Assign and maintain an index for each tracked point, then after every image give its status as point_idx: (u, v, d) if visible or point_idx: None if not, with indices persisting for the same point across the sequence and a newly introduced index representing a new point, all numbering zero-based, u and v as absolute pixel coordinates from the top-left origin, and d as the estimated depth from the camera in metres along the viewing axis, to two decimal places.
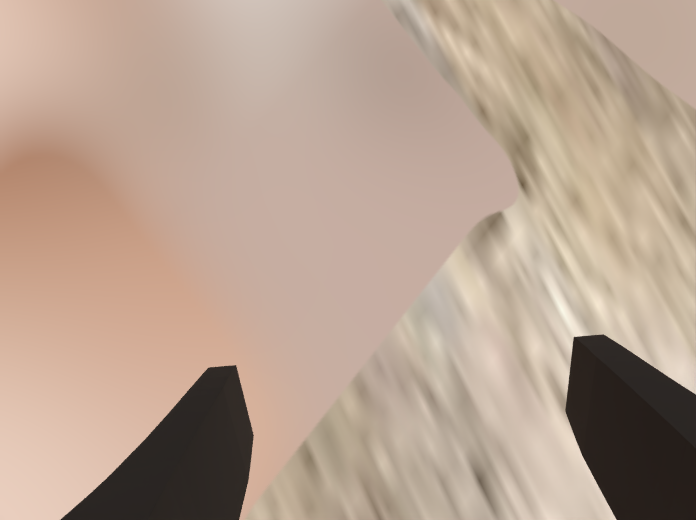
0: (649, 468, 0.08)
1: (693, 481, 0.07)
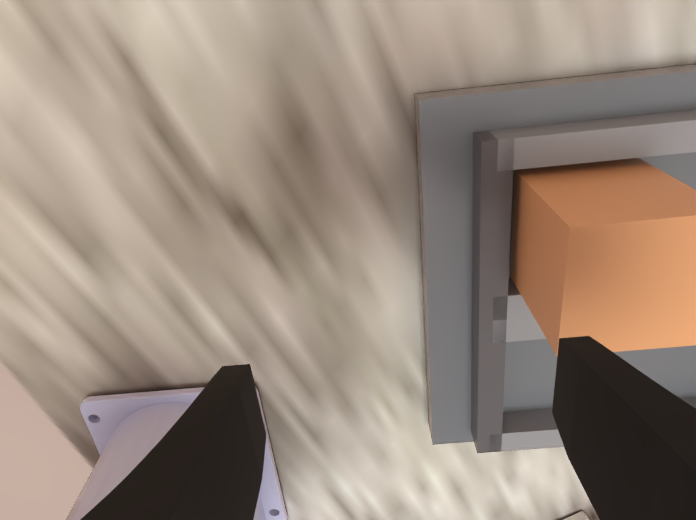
0: (631, 469, 0.08)
1: (671, 483, 0.07)
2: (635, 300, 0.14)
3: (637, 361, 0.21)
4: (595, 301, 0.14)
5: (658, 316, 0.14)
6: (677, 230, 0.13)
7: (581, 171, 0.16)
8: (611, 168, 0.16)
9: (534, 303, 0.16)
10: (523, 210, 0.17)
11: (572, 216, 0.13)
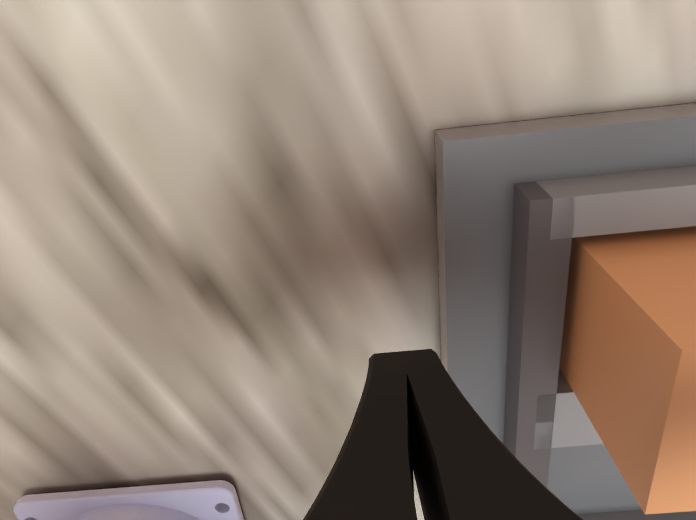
0: (430, 483, 0.08)
1: (440, 499, 0.07)
2: None
3: None
4: None
5: None
6: None
7: (664, 238, 0.12)
8: None
9: (601, 420, 0.12)
10: (584, 290, 0.12)
11: (678, 327, 0.09)
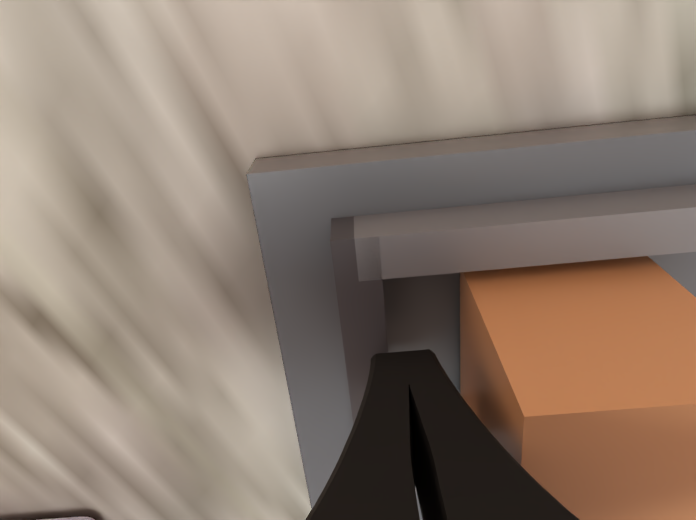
0: (428, 483, 0.08)
1: (438, 499, 0.07)
2: (637, 514, 0.08)
3: None
4: None
5: None
6: None
7: (555, 274, 0.11)
8: (600, 270, 0.11)
9: None
10: (470, 329, 0.11)
11: (530, 386, 0.08)
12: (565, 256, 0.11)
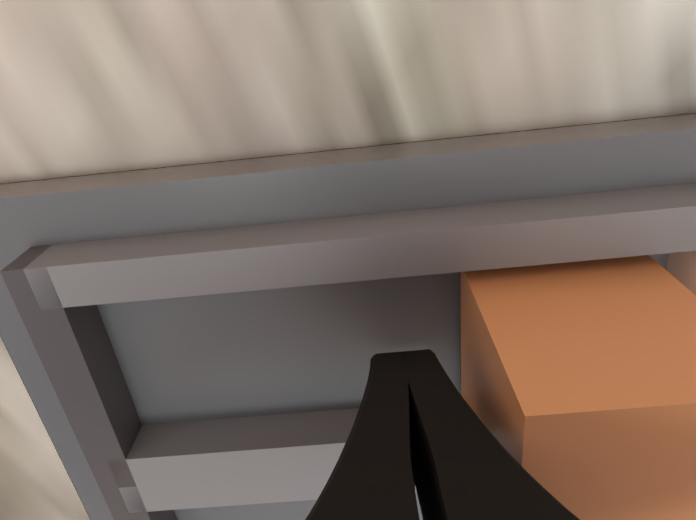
0: (428, 483, 0.08)
1: (438, 499, 0.07)
2: (637, 514, 0.08)
3: None
4: None
5: None
6: None
7: (556, 273, 0.11)
8: (600, 269, 0.11)
9: None
10: (470, 328, 0.11)
11: (532, 385, 0.08)
12: (233, 285, 0.11)
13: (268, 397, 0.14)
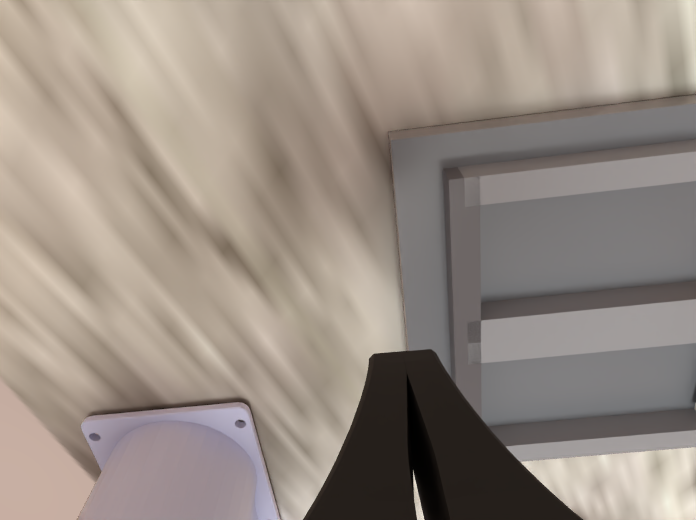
0: (430, 483, 0.08)
1: (440, 499, 0.07)
2: None
3: (611, 378, 0.22)
4: None
5: None
6: None
7: None
8: None
9: None
10: None
11: None
12: (597, 187, 0.17)
13: (570, 279, 0.20)
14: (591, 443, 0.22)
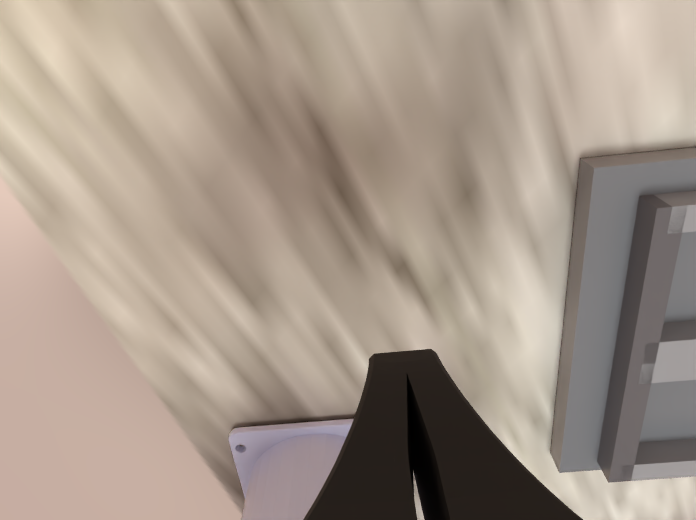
0: (430, 483, 0.08)
1: (440, 499, 0.07)
2: None
3: None
4: None
5: None
6: None
7: None
8: None
9: None
10: None
11: None
12: None
13: None
14: None
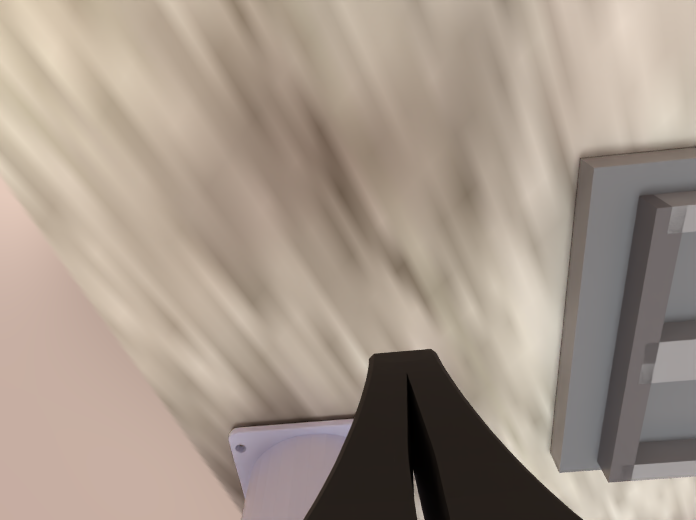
0: (430, 483, 0.08)
1: (440, 499, 0.07)
2: None
3: None
4: None
5: None
6: None
7: None
8: None
9: None
10: None
11: None
12: None
13: None
14: None
